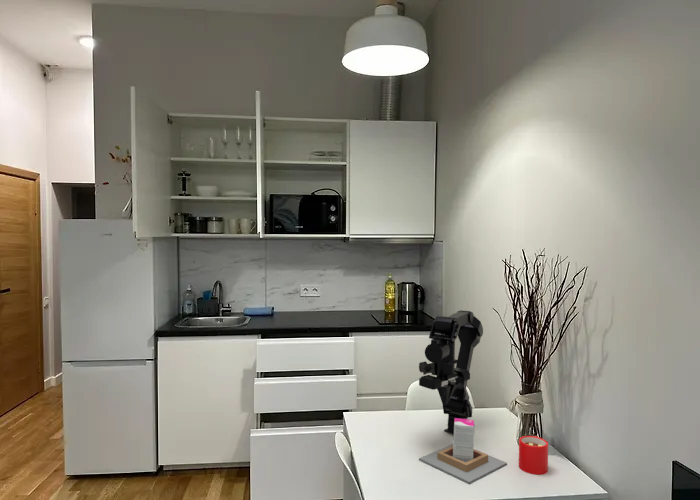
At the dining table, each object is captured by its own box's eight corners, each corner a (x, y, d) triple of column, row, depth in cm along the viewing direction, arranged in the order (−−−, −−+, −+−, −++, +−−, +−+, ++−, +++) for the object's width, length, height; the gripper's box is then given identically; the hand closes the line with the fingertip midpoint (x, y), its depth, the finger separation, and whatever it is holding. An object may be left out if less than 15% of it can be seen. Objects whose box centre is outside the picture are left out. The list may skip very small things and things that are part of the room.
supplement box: (473, 465, 140) (474, 426, 139) (452, 463, 141) (453, 424, 141) (473, 457, 145) (473, 419, 145) (452, 454, 147) (453, 417, 146)
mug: (549, 459, 146) (550, 433, 145) (546, 477, 135) (547, 449, 135) (521, 454, 149) (522, 428, 149) (516, 471, 138) (517, 443, 138)
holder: (457, 444, 156) (457, 436, 156) (506, 464, 142) (507, 455, 142) (418, 460, 144) (419, 451, 144) (469, 484, 130) (469, 474, 130)
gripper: (444, 347, 166) (443, 392, 166) (406, 355, 154) (405, 404, 155) (471, 353, 158) (470, 401, 158) (433, 362, 146) (432, 414, 146)
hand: (444, 404), depth 154 cm, fingers closed
